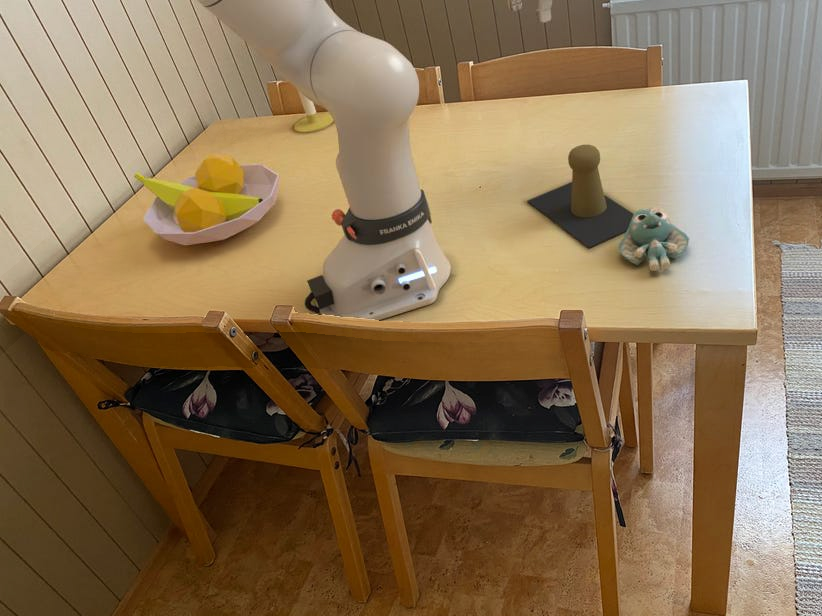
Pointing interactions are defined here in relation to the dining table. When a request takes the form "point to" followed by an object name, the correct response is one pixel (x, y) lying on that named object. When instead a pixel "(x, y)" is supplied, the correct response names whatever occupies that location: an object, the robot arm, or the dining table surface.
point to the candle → (312, 118)
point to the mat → (581, 228)
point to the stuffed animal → (652, 239)
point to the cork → (586, 182)
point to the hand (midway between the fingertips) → (529, 15)
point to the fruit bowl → (211, 201)
